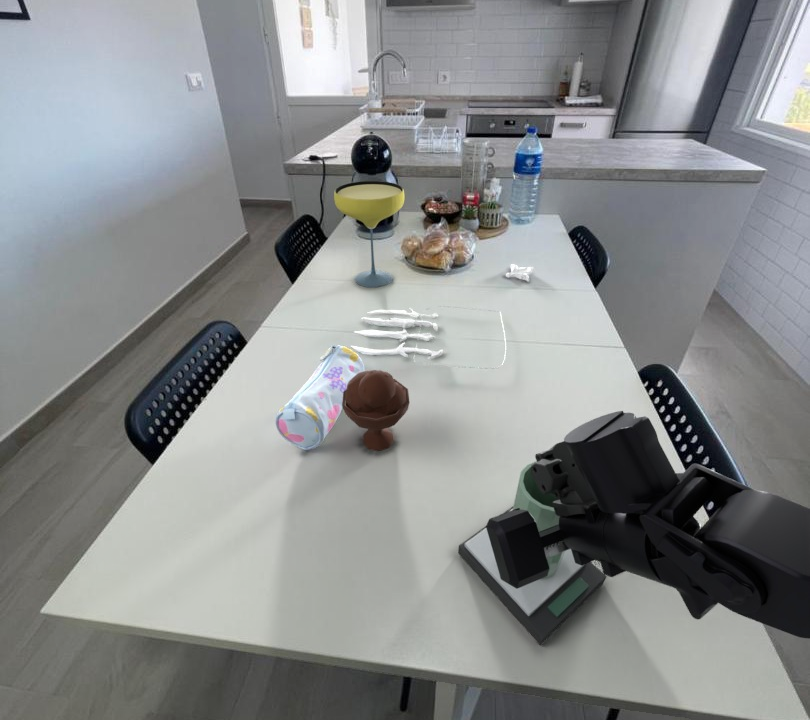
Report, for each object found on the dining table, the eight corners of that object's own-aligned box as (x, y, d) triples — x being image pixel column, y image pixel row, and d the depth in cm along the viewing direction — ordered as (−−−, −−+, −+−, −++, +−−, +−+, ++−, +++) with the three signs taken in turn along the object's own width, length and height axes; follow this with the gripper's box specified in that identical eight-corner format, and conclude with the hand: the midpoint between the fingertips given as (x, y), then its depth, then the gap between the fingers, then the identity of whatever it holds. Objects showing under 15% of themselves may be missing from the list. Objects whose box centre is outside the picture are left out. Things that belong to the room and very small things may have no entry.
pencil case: (328, 376, 92) (323, 337, 86) (368, 383, 90) (365, 344, 84) (277, 449, 75) (266, 407, 70) (324, 460, 73) (317, 417, 68)
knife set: (366, 303, 116) (366, 299, 116) (502, 311, 112) (503, 307, 112) (342, 360, 96) (341, 356, 95) (507, 372, 92) (508, 368, 91)
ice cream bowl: (421, 430, 79) (422, 362, 70) (385, 473, 71) (382, 401, 62) (371, 409, 83) (367, 342, 74) (333, 447, 76) (323, 377, 67)
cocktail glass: (342, 267, 135) (334, 181, 121) (401, 264, 137) (401, 179, 122) (341, 295, 121) (332, 201, 106) (408, 291, 122) (408, 198, 108)
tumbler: (569, 551, 57) (595, 483, 49) (543, 591, 53) (566, 523, 45) (522, 519, 61) (539, 451, 53) (494, 554, 57) (507, 486, 49)
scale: (603, 583, 56) (608, 573, 55) (540, 645, 51) (544, 636, 49) (519, 507, 66) (521, 497, 64) (457, 553, 60) (459, 542, 58)
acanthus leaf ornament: (510, 268, 135) (511, 262, 134) (533, 271, 133) (534, 265, 131) (504, 277, 129) (505, 271, 128) (528, 281, 127) (529, 275, 126)
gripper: (682, 416, 42) (579, 425, 56) (509, 474, 36) (445, 467, 51) (724, 536, 40) (607, 513, 55) (550, 615, 35) (472, 566, 50)
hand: (535, 512), depth 53 cm, fingers open, 9 cm apart
